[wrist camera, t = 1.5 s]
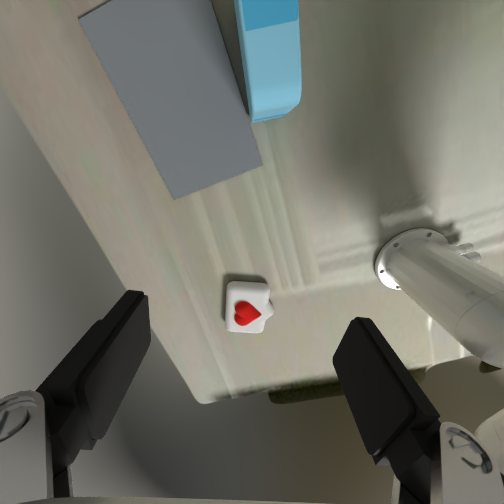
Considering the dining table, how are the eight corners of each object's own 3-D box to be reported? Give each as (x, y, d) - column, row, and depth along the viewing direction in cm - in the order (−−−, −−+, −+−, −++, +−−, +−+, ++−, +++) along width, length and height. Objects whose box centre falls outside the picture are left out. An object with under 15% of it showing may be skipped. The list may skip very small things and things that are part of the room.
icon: (272, 342, 43) (223, 339, 43) (270, 326, 47) (225, 323, 46) (281, 294, 38) (225, 291, 37) (278, 281, 42) (227, 277, 41)
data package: (282, 118, 29) (303, 101, 18) (250, 124, 29) (252, 110, 19) (272, -5, 24) (293, -131, 13) (233, 3, 24) (222, -113, 13)
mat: (196, -45, 22) (195, -48, 22) (262, 164, 32) (262, 165, 31) (79, 20, 24) (78, 19, 24) (174, 199, 34) (173, 199, 33)
